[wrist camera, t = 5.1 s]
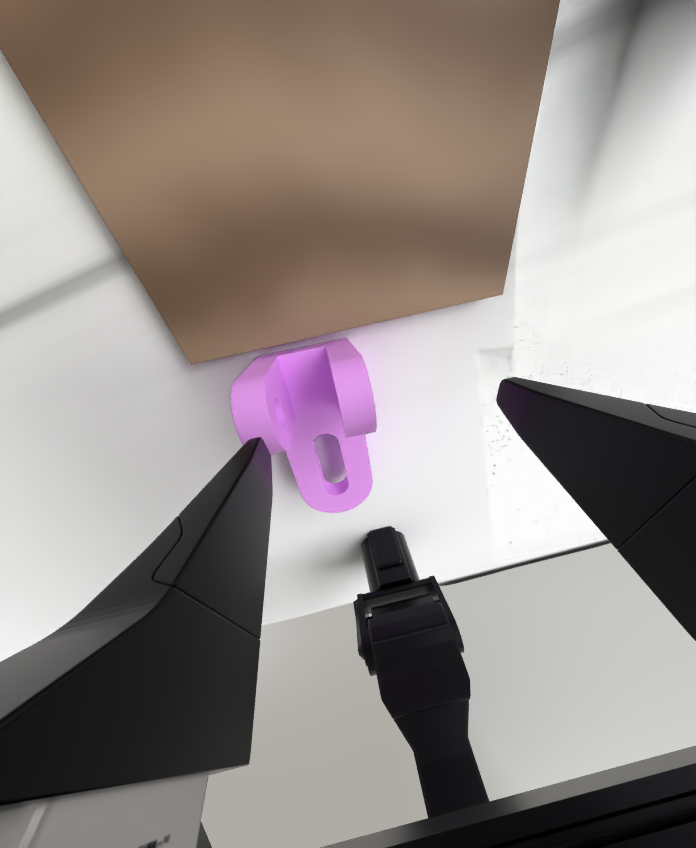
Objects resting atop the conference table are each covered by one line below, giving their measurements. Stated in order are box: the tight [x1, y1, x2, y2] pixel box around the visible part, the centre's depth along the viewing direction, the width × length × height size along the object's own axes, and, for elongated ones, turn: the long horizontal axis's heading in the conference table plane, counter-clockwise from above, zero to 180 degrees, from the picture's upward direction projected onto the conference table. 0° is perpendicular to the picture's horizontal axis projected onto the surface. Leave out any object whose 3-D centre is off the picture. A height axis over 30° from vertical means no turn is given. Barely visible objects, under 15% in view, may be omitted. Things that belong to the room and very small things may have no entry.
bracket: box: [231, 338, 376, 513], centre depth 15 cm, size 13×6×7 cm, turn 9°
